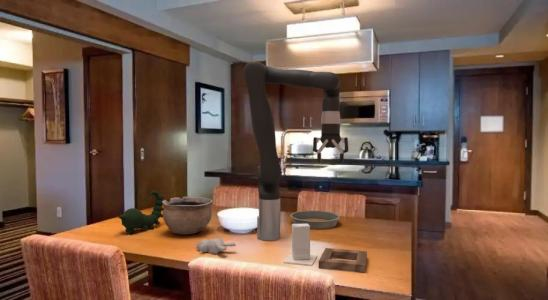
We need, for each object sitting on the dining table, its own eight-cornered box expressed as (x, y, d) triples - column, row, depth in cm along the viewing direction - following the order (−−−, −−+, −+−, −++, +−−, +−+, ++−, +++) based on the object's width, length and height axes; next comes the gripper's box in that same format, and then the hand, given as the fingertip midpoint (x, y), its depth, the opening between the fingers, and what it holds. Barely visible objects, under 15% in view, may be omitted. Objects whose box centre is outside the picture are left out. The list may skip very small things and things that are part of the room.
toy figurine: (153, 227, 189) (109, 234, 167) (155, 189, 189) (112, 191, 168) (167, 229, 184) (124, 237, 162) (169, 190, 185) (126, 192, 163)
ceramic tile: (283, 263, 131) (283, 261, 131) (290, 254, 141) (290, 253, 141) (312, 265, 129) (312, 264, 128) (317, 256, 138) (317, 255, 138)
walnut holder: (318, 268, 126) (318, 260, 126) (325, 254, 141) (325, 247, 141) (364, 272, 122) (364, 265, 122) (366, 258, 137) (366, 251, 136)
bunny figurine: (207, 236, 152) (237, 236, 144) (208, 249, 152) (238, 250, 144) (190, 242, 143) (221, 243, 136) (191, 255, 143) (223, 257, 136)
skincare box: (308, 255, 138) (308, 222, 137) (310, 260, 133) (310, 225, 133) (291, 256, 137) (291, 223, 136) (293, 260, 132) (293, 226, 132)
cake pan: (287, 229, 180) (287, 219, 180) (293, 217, 204) (293, 209, 204) (339, 231, 176) (339, 221, 175) (339, 219, 200) (340, 211, 200)
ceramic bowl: (187, 224, 187) (187, 194, 186) (222, 230, 176) (222, 198, 175) (152, 235, 168) (151, 201, 167) (188, 242, 157) (188, 206, 156)
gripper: (311, 122, 152) (311, 163, 153) (347, 122, 148) (347, 163, 149) (315, 123, 159) (314, 161, 160) (349, 123, 155) (349, 162, 156)
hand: (330, 162), depth 154 cm, fingers open, 8 cm apart
